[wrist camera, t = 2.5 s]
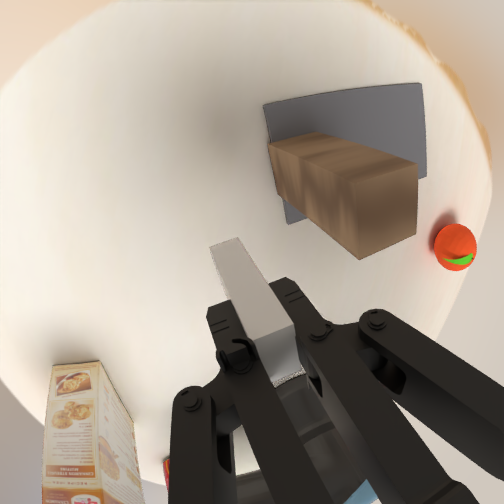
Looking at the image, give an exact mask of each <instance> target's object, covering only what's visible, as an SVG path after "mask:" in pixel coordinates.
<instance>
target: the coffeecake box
mask: <svg viewBox="0 0 504 504" xmlns="http://www.w3.org/2000/svg"><path fill="white" fill-rule="evenodd" d="M52 368H53V369H52V375H51V381H50V388H49V394H48V401H47V409H46V418H45V429H44V440H43V458H42V504H145V500H144V495H143V489H142V484H141V477H140V471H139V465H138V458H137V450H136V443H135V434H134V424H133V422H132V420H131V418H130V416H129V415H128V413H127V411H126V409H125V408H124V406H123V404H122V402H121V401H120V399H119V397H118V395H117V393H116V392H115V390H114V388H113V386H112V384H111V382H110V380H109V378H108V376H107V374H106V372H105V370H104V368H103V366H102V364H101V362H100V361H97V362H89V363H82V364H65V365H55V366H52Z"/></svg>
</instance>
